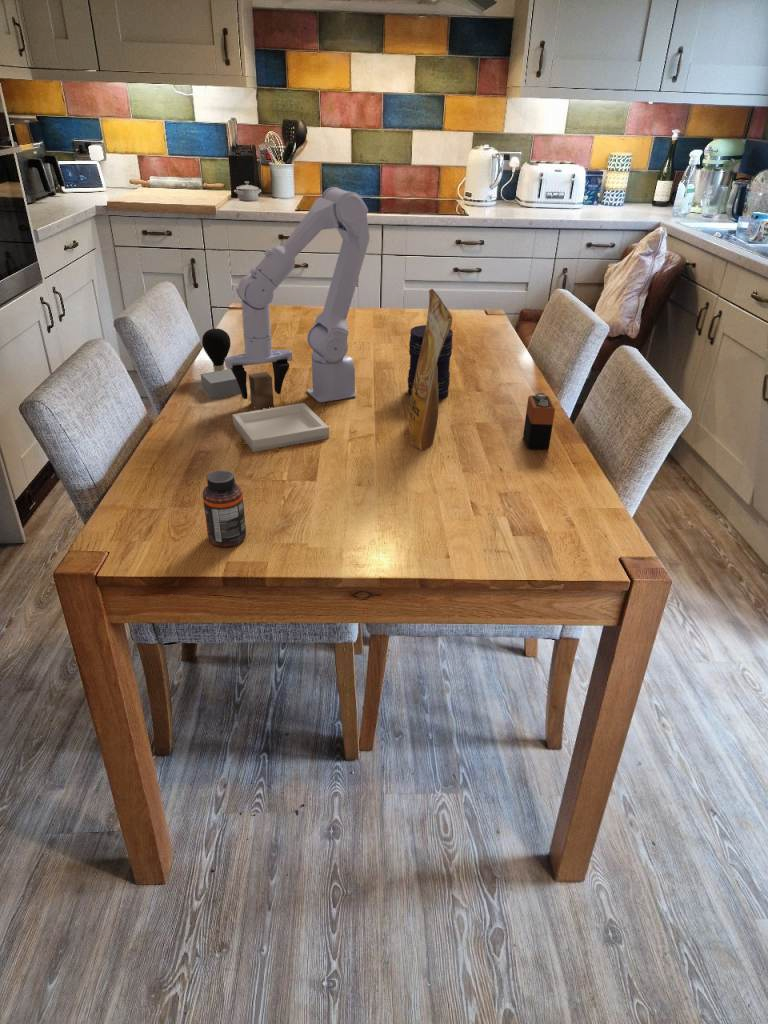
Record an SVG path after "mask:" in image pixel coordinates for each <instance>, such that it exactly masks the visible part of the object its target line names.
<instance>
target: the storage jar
mask: <svg viewBox="0 0 768 1024" xmlns="http://www.w3.org/2000/svg"><path fill="white" fill-rule="evenodd" d="M425 329H426V324H424V325H423V324H422V325H417V326H414V327H412V328H411V329H410V332H409V333H410V337H409V342H408V343H409V345H408V346H409V347H408V348H409V349H408V352H409V353H408V354H409V356H410V357H409V369H408V373H407V375H408V377H407V387H408V389H407V395H408V396H409V397H410V398H411V394H412V389H413V384H414V378H415V373H416V368H417V363H418V359H419V355H420V351H421V347H422V342H423V338H424V333H425ZM453 335H454V331H453V329H451V328H450V330H449V333H448V335H447V337H446V339H445V342H444V344H443V347H442V350H441V352H440V355H439V358H438V362H437V367H438V391H439V394H438V402H439V401H443V400H445V399H447V398H448V397H449V389H450V382H451V379H450V376H451V372H450V366H451V365H450V361H451V357H452V354H453V353H452V350H453Z"/></svg>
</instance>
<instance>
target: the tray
mask: <svg viewBox="0 0 768 1024" xmlns="http://www.w3.org/2000/svg"><path fill="white" fill-rule="evenodd" d="M231 416H232V425H233V427H234V428H235V430H236V431H237V433H238V434H239V435H240V437H241V438H242V439H243V440H244V441H245V443H246V445H247V446H248V447H249V449H250V450H251V451H252V452H253V453H256V452H262V450H263V451H267V450H272V449H273V448H274V449H278V448H277V447H279V448H283V446H284V447H290V446H293V445H294V444H295V445H299V444H300V443H301V444H305V443H310V442H317V441H321V440H327V439H330V429H329V428H330V427H329V426H328V425H327V424H326V423H325V422H324V421H323V420H322V419H321V418H320V416H318V415H317V414H316V413H315V412H314V411H313V410H312V409H311V408H310V407H309V406H308V405H307V404H306V403H305V402H301V403H295V404H289V405H282V406H276V407H275V406H274V408H268V409H262V410H252V411H245V412H239V413H233V414H231ZM289 445H290V446H289ZM281 446H282V447H281ZM266 449H267V450H266Z"/></svg>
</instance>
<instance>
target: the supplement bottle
mask: <svg viewBox="0 0 768 1024" xmlns="http://www.w3.org/2000/svg"><path fill="white" fill-rule="evenodd" d="M235 479H236V478H235V475H234V472H232V471H230V470H226V469H225V470H224V469H219V470H215V471H212V472H209V473H208V475H207V477H206V480H207V485H206V486H205V488H203V491H202V500H203V509H204V515H205V522H206V532H207V537H208V540H209V543H211V544H212V545H213V546H216V547H220V548H229V547H231V548H232V547H234V546H237V545H240V544H241V543H242V542H244V541H245V539H246V537H247V527H246V526H247V525H246V515H245V505H244V496H243V489H242V487H241V486H240V485H239V484H238V483H237V482H236V480H235Z"/></svg>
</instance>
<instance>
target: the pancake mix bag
mask: <svg viewBox="0 0 768 1024" xmlns="http://www.w3.org/2000/svg"><path fill="white" fill-rule="evenodd" d="M428 295H429V297H428V299H429V300H428V301H429V302H428V311H427V316H426V318H427V319H426V324H425V325H426V329H425V333H424V338H423V342H422V347H421V351H420V355H419V359H418V363H417V368H416V373H415V378H414V384H413V389H412V394H411V397H410V400H409V406H408V407H409V408H408V413H407V414H408V415H407V417H408V428H409V429H408V430H409V440H410V445H411V447H414V448H418V449H419V451H423V450H427V449H429V448H431V447H432V446H433V444H434V440H435V436H436V431H437V425H438V420H439V401H438V394H439V391H438V367H437V362H438V358H439V355H440V352H441V350H442V347H443V344H444V342H445V339H446V337H447V335H448V333H449V330H450V329H451V327H452V325H453V314H452V313H451V312H450V310H449V309H448V307H447V306H446V305H445V304H444V302H443V300H442V299H441V297H440V296H439V294H438V293H437V292H436V291H435V290H434V289H433V288H431V289H428Z"/></svg>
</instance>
